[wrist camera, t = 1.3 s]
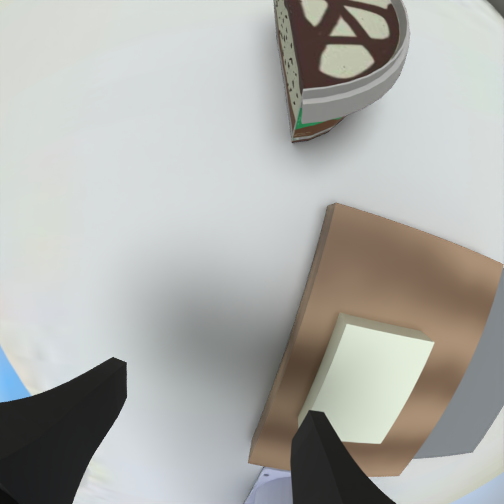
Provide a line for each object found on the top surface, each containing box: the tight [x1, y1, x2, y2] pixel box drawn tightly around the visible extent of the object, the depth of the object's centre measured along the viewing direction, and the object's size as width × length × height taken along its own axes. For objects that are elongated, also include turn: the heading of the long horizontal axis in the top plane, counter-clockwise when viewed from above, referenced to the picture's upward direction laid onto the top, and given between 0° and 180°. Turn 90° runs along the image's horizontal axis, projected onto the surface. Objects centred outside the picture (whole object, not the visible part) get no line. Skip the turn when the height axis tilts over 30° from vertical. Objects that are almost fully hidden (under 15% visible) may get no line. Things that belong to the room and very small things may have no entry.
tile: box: [298, 313, 435, 444], centre depth 15 cm, size 8×6×2 cm
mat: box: [412, 268, 504, 459], centre depth 18 cm, size 20×12×1 cm, turn 165°
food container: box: [274, 0, 410, 143], centre depth 13 cm, size 12×6×10 cm, turn 5°
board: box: [248, 203, 504, 477], centre depth 18 cm, size 20×14×3 cm
